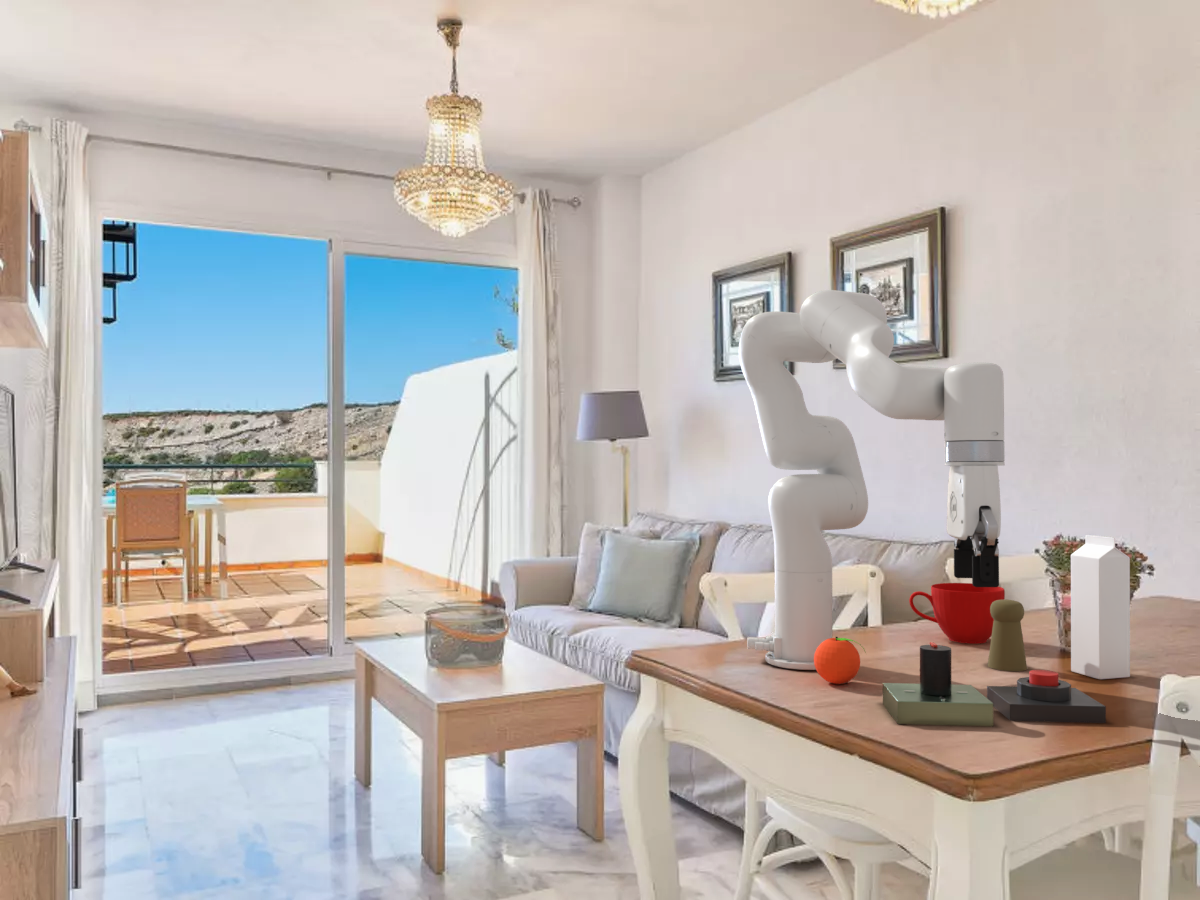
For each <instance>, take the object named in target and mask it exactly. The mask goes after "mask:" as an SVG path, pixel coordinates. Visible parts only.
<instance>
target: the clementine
mask: <svg viewBox="0 0 1200 900" xmlns="http://www.w3.org/2000/svg"><path fill="white" fill-rule="evenodd" d="M852 642H855V643H856V644H857V645H860V643H859V642H857V641H855V640H854V639H850V638H846V637H838V636H835V637H832V638H829V639H826V640H825V641H823V642H822V643H821V644H820V645H819V646H818V647H817V649H816V651H815V654H814V665H815V668H816V670H815V671H816V672H817V674H818V675H819V676H820V677H821V678H822V679H823V680H825V681H826V682H828V683H831V684H834V685H843V684H846V683H849V682H850V681H852V680H853V679H854V678H855V677H856V676H857V675H858V672H859V670H860V668H861V655H860V654H859V653H860V652H859V651H858V649H857V648H856V646H855V645H854V644H853V643H852ZM862 649H863V651H864V652H865V654H867V653H866V650H865V648H864V647H862Z"/></svg>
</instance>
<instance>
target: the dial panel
mask: <svg viewBox="0 0 1200 900" xmlns="http://www.w3.org/2000/svg"><path fill="white" fill-rule="evenodd" d="M951 692H952V693H951V694H950V695H946V696H934V695H928V694H924V693H922V692H920V683H908V682H907V683H906V682H905V683H904V682H902V683H901V682H882V705H883V706H884V708H885V709H886V710H887V712H888V713H889V715H890V716H891V717H892V718H893V720H894V721H895V722H896V723H897V724H898V725H924V726H959V727H961V726H963V727H994V707H993V703H992V702H991V701H990V700H988V699H987V696H985V695H984V694H983V693H982V692H980V691H979V690H978V689H976V688H975V687H974V686H973V685H972V684H953V683H951Z"/></svg>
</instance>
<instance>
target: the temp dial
mask: <svg viewBox="0 0 1200 900" xmlns="http://www.w3.org/2000/svg"><path fill="white" fill-rule="evenodd" d="M919 684H920V692H922V693H924V694H928V695H934V696H946V695H950V694H951V693H952V692H951V684H952V648H951V647H950V646H947V645H941V644H936V642H931V641H930V642H929V644H922V645H920V646H919Z"/></svg>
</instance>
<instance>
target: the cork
mask: <svg viewBox="0 0 1200 900" xmlns="http://www.w3.org/2000/svg"><path fill="white" fill-rule="evenodd" d="M990 613H991V616H992V618H993V619H994V622H993V629H992V636H991V637H990V644H989V652H988V658H987V667H988V668H990V669H993V670H998V671H1004V672H1005V671H1006V672H1024V671H1026V670H1028V664H1027V657H1026V651H1025V644H1024V635H1023V630H1022V620H1023V619H1024V617H1025V607H1024V605H1023V604H1022V603H1021V602H1020V601H1017V600H1015V599H1014V600H1013V599H1006V598H1005V599H1003V600H996V601H994V602H992V604H991V606H990Z"/></svg>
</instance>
